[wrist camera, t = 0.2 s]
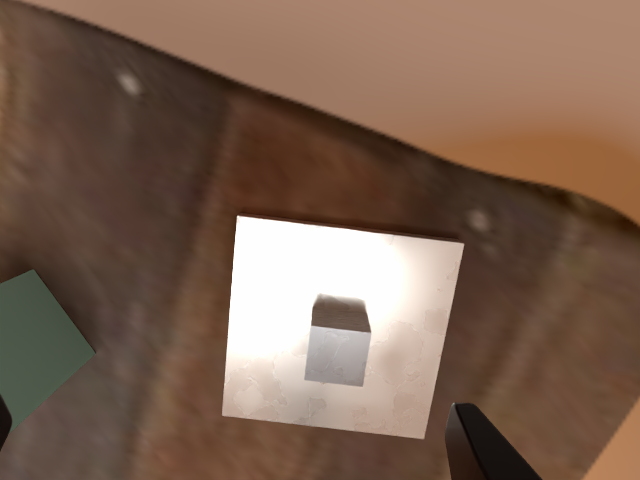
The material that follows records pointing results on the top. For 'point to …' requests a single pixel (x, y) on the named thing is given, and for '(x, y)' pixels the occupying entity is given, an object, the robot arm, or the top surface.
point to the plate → (341, 282)
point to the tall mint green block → (35, 345)
